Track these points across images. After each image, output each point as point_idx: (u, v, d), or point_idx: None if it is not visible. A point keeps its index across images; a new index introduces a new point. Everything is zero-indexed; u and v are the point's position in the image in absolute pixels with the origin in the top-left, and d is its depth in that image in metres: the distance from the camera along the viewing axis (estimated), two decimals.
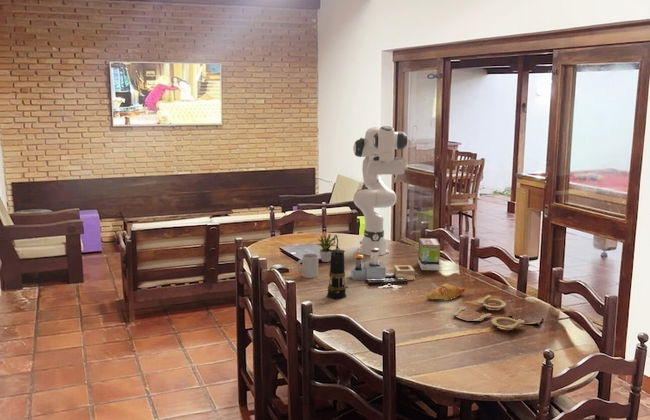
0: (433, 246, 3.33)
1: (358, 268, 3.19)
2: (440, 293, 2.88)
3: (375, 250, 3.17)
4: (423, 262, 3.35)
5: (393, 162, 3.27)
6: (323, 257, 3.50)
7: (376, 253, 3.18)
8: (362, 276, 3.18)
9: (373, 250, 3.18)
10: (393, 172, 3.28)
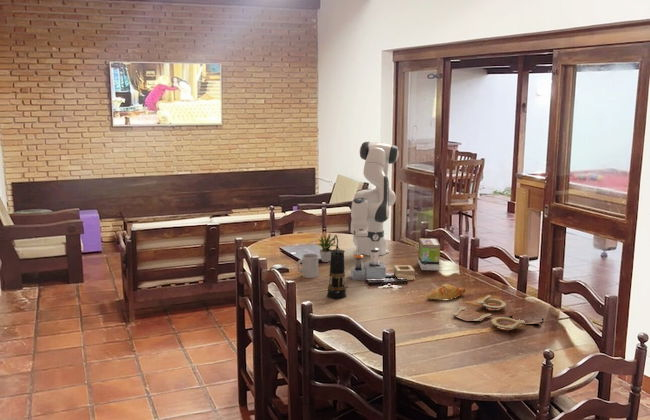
0: (433, 246, 3.33)
1: (358, 268, 3.19)
2: (440, 293, 2.88)
3: (375, 250, 3.17)
4: (423, 262, 3.35)
5: None
6: (323, 257, 3.50)
7: (376, 253, 3.18)
8: (362, 276, 3.18)
9: (373, 250, 3.18)
10: None
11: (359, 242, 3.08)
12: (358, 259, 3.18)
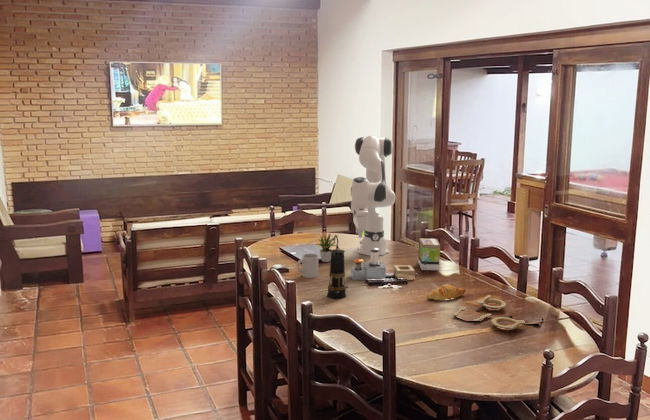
0: (433, 246, 3.33)
1: None
2: (440, 293, 2.88)
3: (375, 250, 3.17)
4: (423, 262, 3.35)
5: None
6: (323, 257, 3.50)
7: (376, 253, 3.18)
8: (362, 276, 3.18)
9: (373, 250, 3.18)
10: None
11: (359, 221, 3.06)
12: (358, 264, 3.19)
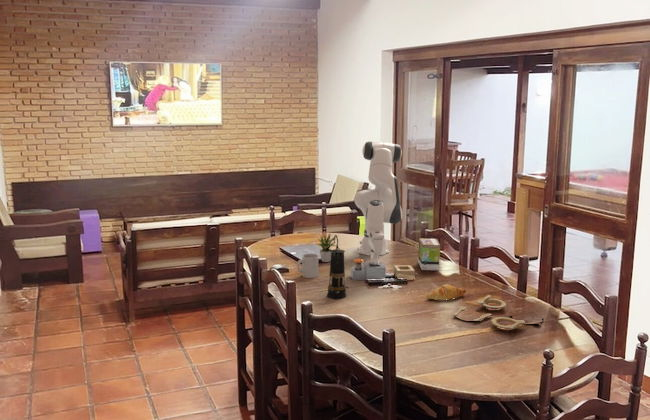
0: (433, 246, 3.33)
1: None
2: (440, 293, 2.88)
3: None
4: (423, 262, 3.35)
5: None
6: (323, 257, 3.50)
7: None
8: (362, 276, 3.18)
9: None
10: None
11: (375, 244, 3.09)
12: (358, 264, 3.19)
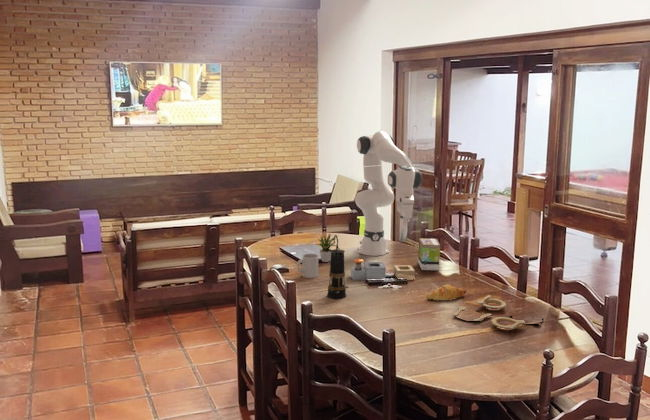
0: (433, 246, 3.33)
1: None
2: (440, 294, 2.88)
3: None
4: (423, 262, 3.35)
5: None
6: (323, 257, 3.50)
7: None
8: (362, 276, 3.18)
9: (402, 216, 3.15)
10: None
11: (405, 209, 3.07)
12: (358, 264, 3.19)
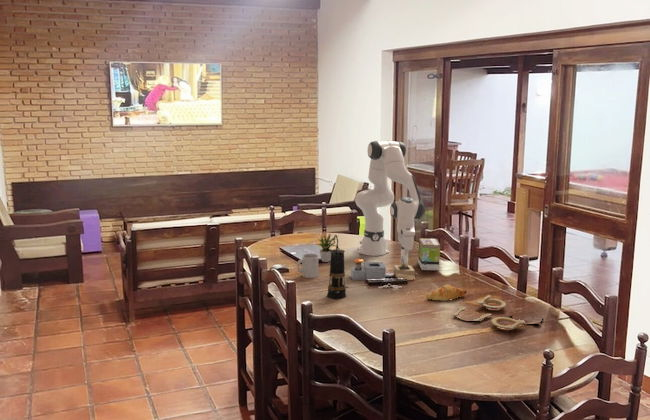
0: (433, 246, 3.33)
1: None
2: (439, 294, 2.88)
3: None
4: (423, 262, 3.35)
5: None
6: (323, 257, 3.50)
7: None
8: (362, 276, 3.18)
9: (403, 247, 3.19)
10: None
11: (407, 241, 3.10)
12: (358, 264, 3.19)
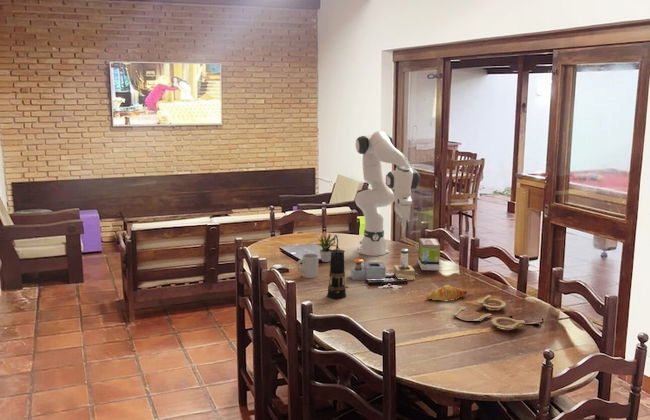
0: (433, 246, 3.33)
1: None
2: (439, 294, 2.88)
3: (405, 251, 3.19)
4: (423, 262, 3.35)
5: None
6: (323, 257, 3.50)
7: (406, 254, 3.20)
8: (362, 276, 3.18)
9: (403, 251, 3.19)
10: None
11: (403, 210, 3.08)
12: (358, 264, 3.19)
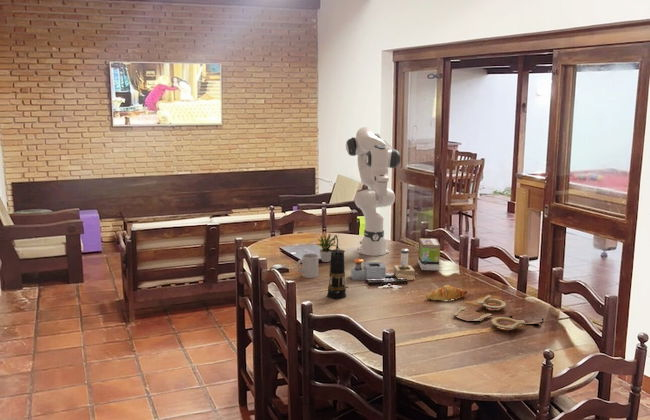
0: (433, 246, 3.33)
1: None
2: (439, 294, 2.87)
3: (405, 251, 3.19)
4: (423, 262, 3.35)
5: None
6: (323, 257, 3.50)
7: (406, 254, 3.20)
8: (362, 276, 3.18)
9: (403, 251, 3.19)
10: None
11: (380, 187, 3.11)
12: (358, 264, 3.19)
